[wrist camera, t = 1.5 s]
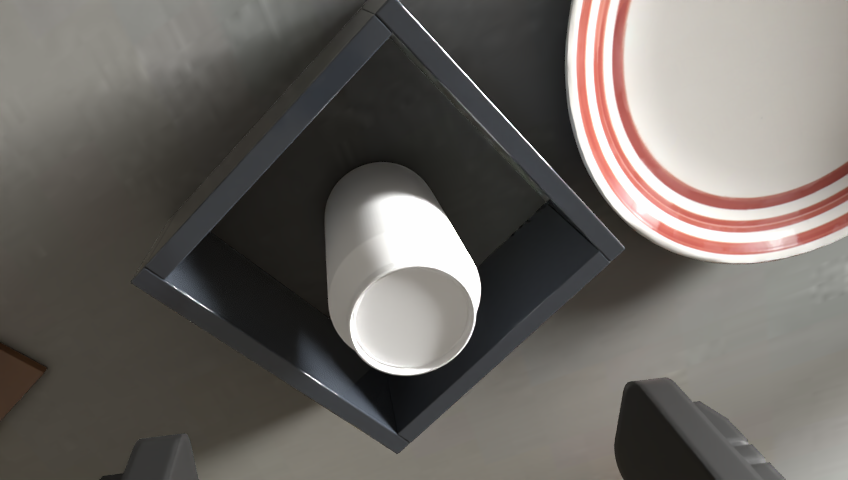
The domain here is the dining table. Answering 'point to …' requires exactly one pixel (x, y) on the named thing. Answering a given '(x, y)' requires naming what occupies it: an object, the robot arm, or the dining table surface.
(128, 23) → the dining table surface
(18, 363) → the coaster
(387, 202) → the beverage can
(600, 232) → the grey open box
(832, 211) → the dinner plate
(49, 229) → the dining table surface
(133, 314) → the dining table surface
